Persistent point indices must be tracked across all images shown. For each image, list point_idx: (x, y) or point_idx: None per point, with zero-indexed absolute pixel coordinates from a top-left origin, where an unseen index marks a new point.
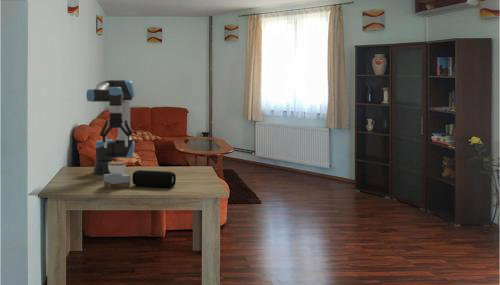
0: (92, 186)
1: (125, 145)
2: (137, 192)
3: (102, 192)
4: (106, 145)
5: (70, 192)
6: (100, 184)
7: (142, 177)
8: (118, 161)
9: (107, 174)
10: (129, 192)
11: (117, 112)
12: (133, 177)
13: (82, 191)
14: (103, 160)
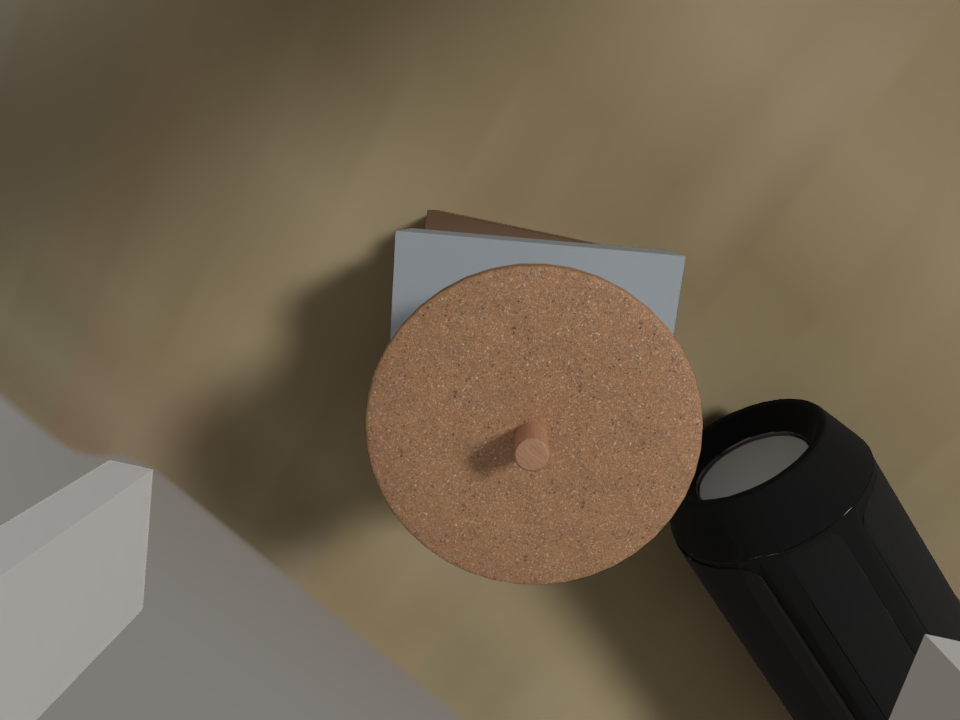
0: (325, 137)
1: (927, 694)
2: (508, 689)
3: (256, 481)
4: (69, 668)
5: (3, 272)
6: (460, 88)
7: (731, 621)
8: (613, 379)
9: (445, 259)
10: (453, 643)
11: None
12: (675, 517)
13: (120, 310)
14: None
